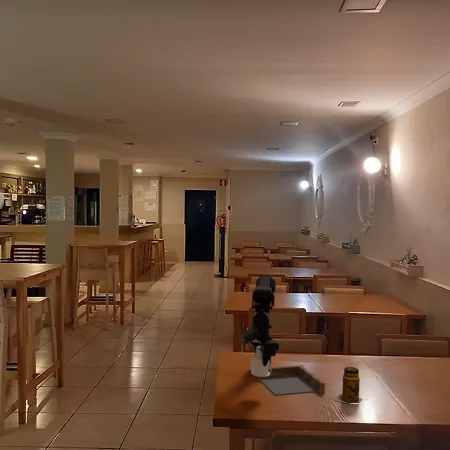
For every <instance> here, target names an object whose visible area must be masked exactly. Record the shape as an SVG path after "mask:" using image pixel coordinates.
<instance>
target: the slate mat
mask: <svg viewBox="0 0 450 450" xmlns="http://www.w3.org/2000/svg"><path fill="white" fill-rule="evenodd" d="M258 380H259V381H260V382H261V384H263V385H264V386H265V387H266V388H267V389H268V390H269V391H270V393H272V394H273V395H274V396H284V395H286V396H287V395H296V394H307V393H308V394H309V393H320V392H319V390H317V389H316V388H315V387H313V386H312V385H311V384H310V383H308V382H307V381H306V380H305V379H303V378H302V377H301V376H300V375H294V376H281V377H269V378H259V379H258Z"/></svg>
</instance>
